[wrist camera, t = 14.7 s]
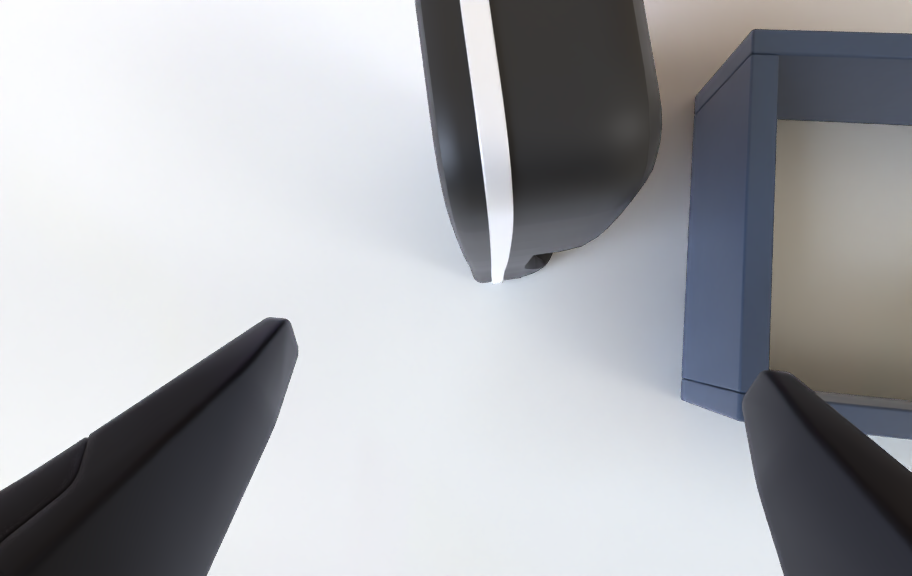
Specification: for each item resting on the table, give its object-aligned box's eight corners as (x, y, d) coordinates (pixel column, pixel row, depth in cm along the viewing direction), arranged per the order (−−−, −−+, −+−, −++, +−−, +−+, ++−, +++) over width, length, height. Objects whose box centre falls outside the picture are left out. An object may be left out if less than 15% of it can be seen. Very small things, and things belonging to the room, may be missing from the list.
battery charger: (574, 278, 17) (726, 175, 6) (475, 291, 18) (439, 217, 6) (547, 105, 18) (636, -280, 7) (452, 120, 18) (383, -224, 7)
